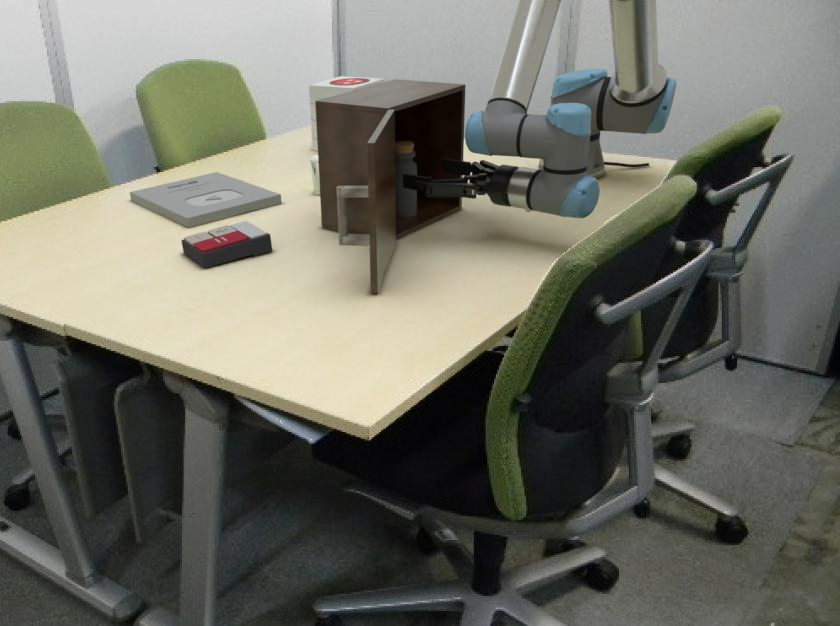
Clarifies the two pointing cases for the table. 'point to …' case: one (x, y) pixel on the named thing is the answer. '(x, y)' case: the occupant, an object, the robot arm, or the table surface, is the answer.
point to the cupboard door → (375, 201)
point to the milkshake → (315, 173)
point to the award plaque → (204, 198)
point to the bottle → (403, 165)
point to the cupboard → (414, 121)
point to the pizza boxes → (332, 89)
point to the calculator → (226, 244)
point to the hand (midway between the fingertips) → (423, 172)
